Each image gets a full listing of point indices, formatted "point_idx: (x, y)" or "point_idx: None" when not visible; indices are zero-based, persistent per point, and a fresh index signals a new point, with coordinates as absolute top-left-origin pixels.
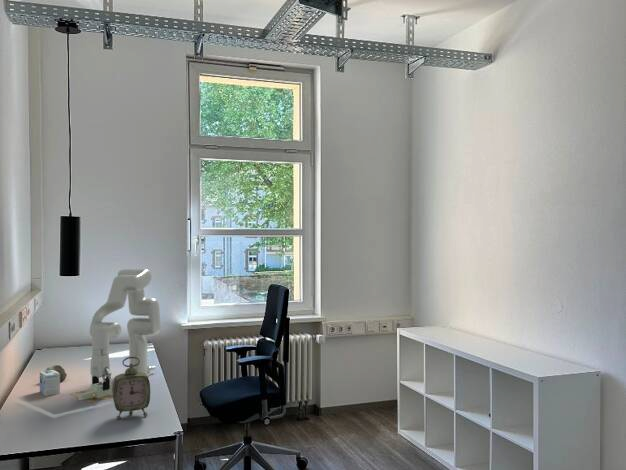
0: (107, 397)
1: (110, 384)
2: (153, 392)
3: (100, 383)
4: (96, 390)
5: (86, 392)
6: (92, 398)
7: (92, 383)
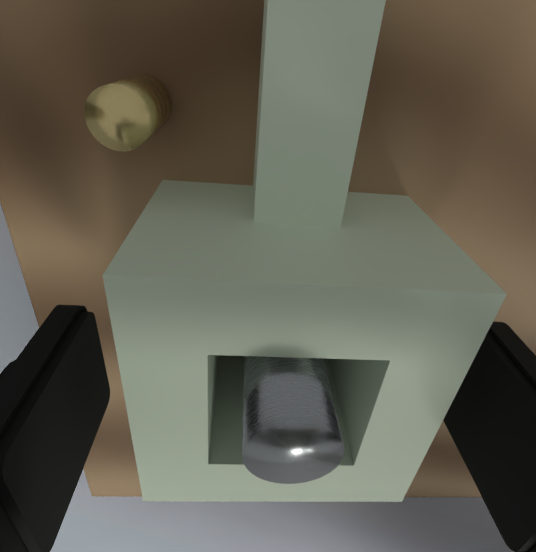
0: (84, 275)
1: (142, 485)
2: (66, 544)
3: (253, 423)
4: (193, 233)
5: (361, 63)
6: (208, 106)
7: (526, 366)
